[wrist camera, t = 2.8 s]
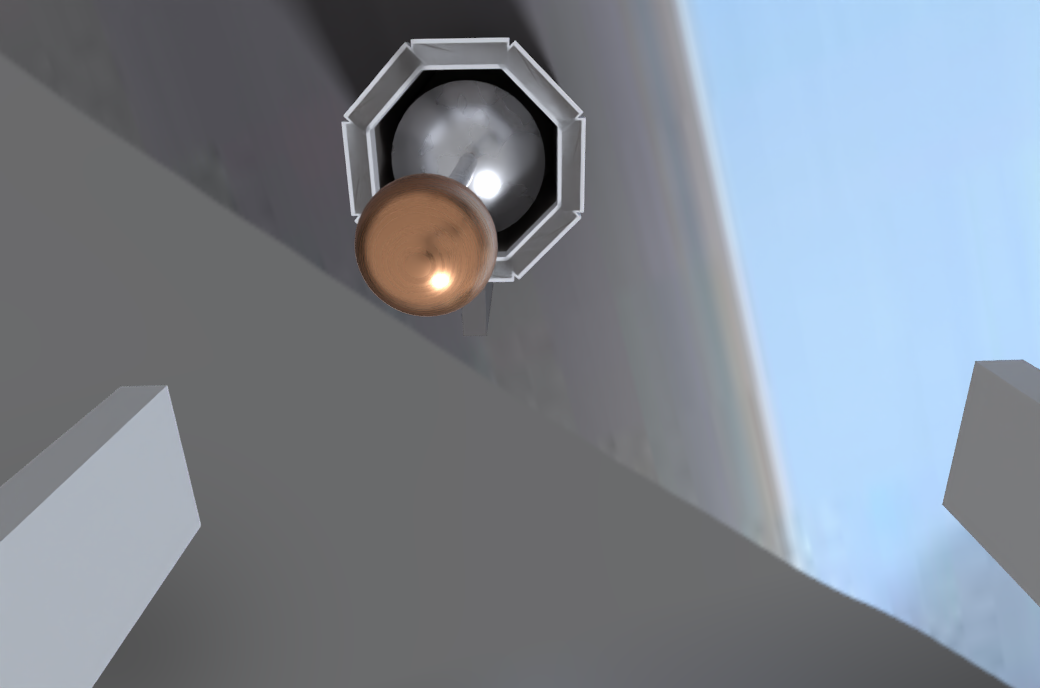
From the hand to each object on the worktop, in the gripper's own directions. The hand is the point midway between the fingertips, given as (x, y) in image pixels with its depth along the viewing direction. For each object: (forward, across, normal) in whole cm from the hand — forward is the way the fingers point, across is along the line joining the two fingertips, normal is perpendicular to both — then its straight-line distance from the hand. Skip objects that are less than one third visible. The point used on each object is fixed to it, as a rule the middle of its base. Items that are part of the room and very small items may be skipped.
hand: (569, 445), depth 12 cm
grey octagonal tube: (+41, -3, -1) cm, 41 cm away
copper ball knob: (+30, -3, +1) cm, 30 cm away
